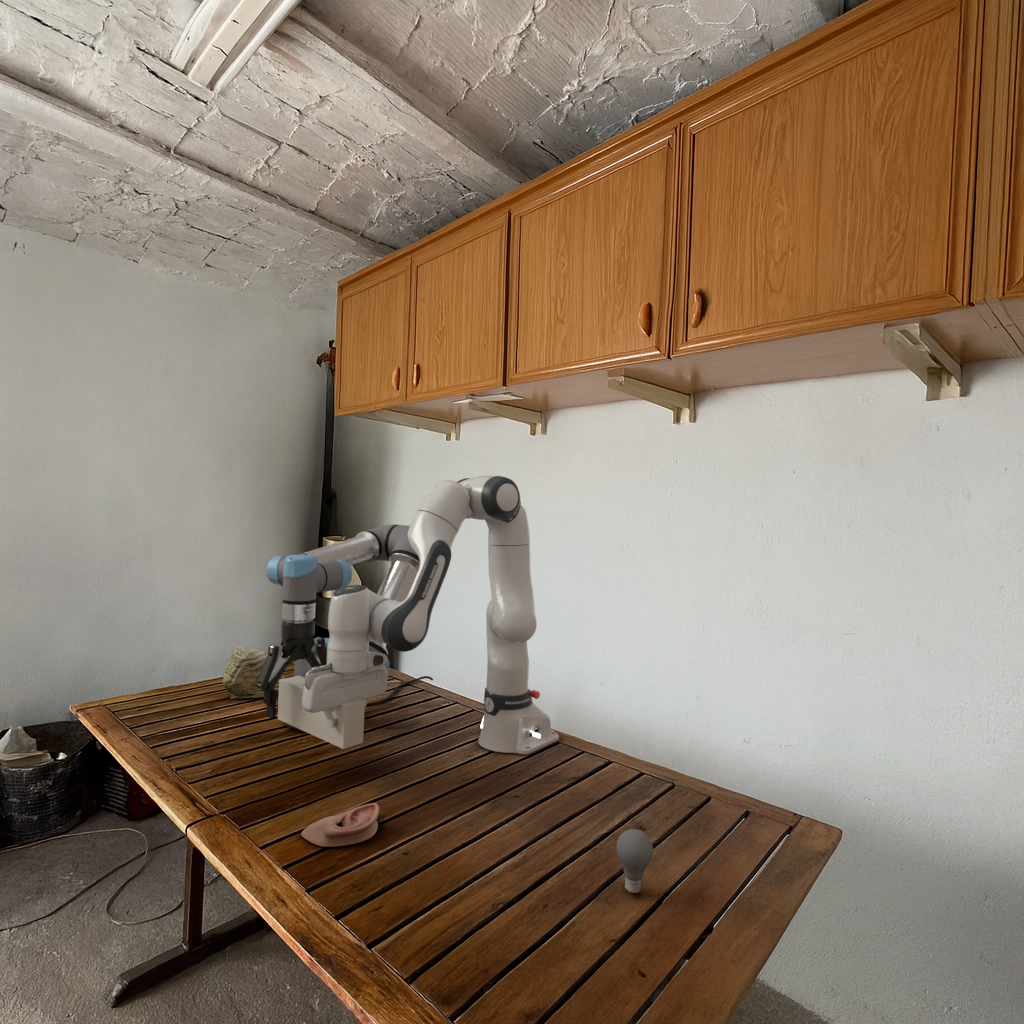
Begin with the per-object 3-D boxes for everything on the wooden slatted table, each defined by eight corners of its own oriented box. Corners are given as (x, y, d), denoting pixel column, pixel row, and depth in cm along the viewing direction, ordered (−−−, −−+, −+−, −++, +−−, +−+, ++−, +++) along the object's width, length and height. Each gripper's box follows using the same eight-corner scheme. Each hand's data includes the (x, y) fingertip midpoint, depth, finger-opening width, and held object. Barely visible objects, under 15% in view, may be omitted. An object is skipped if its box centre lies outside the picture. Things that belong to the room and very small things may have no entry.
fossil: (218, 695, 195) (220, 647, 195) (278, 685, 208) (279, 640, 207) (228, 703, 189) (230, 653, 188) (289, 692, 201) (290, 645, 201)
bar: (277, 719, 151) (279, 679, 151) (297, 713, 155) (298, 675, 155) (343, 749, 135) (345, 705, 135) (363, 742, 139) (364, 699, 139)
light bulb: (610, 879, 108) (613, 822, 108) (644, 879, 109) (647, 822, 109) (619, 902, 102) (622, 840, 102) (655, 901, 103) (658, 840, 103)
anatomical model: (293, 820, 116) (324, 792, 127) (292, 842, 116) (323, 812, 127) (360, 831, 113) (386, 801, 124) (359, 853, 113) (385, 821, 124)
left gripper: (259, 629, 139) (255, 727, 139) (350, 616, 157) (346, 703, 158) (241, 624, 143) (238, 719, 144) (332, 612, 162) (328, 696, 163)
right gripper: (314, 671, 128) (312, 739, 129) (392, 655, 144) (390, 715, 145) (297, 665, 132) (294, 731, 133) (374, 650, 148) (372, 708, 149)
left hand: (295, 710), depth 151 cm, fingers open, 12 cm apart
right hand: (345, 722), depth 139 cm, fingers closed on bar, 5 cm apart
